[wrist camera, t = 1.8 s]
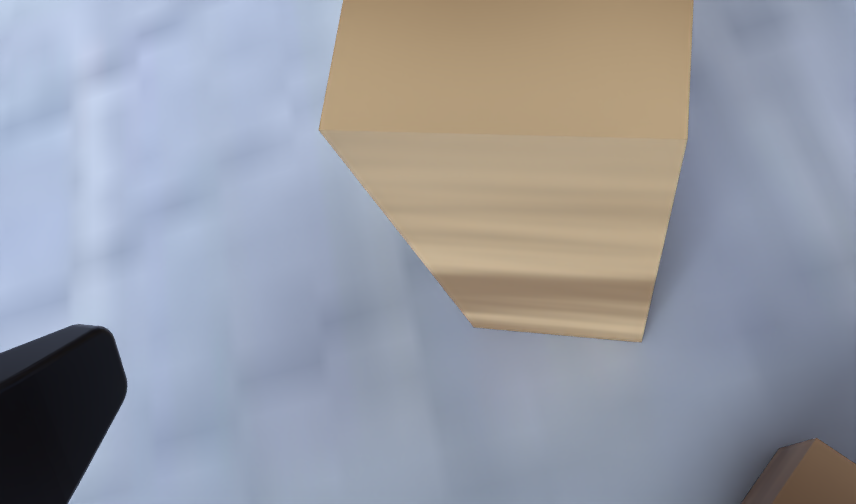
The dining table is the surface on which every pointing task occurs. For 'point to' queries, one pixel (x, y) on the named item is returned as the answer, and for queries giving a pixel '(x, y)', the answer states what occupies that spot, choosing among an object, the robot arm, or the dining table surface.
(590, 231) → the oak post
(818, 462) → the brown wooden bar
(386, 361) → the dining table surface
